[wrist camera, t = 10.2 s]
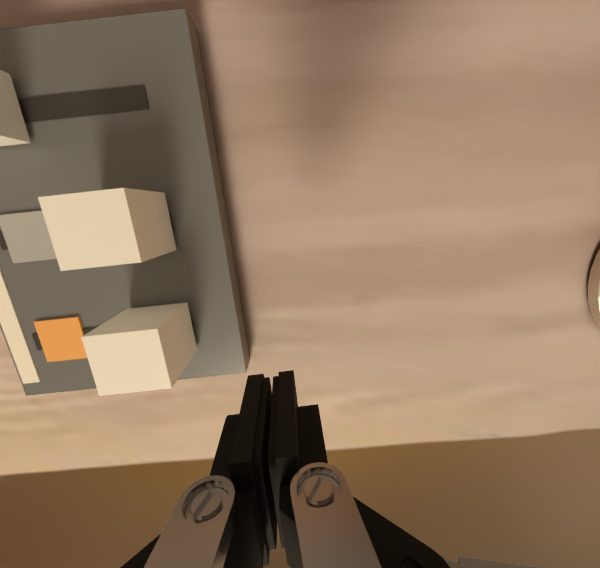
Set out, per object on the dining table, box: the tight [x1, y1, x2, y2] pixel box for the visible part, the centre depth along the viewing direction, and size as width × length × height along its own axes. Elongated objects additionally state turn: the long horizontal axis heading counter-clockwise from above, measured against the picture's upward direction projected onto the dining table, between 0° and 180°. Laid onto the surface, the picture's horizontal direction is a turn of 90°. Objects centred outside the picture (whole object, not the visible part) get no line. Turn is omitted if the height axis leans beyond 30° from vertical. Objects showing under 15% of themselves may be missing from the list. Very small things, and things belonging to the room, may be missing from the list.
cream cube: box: [81, 302, 197, 396], centre depth 18 cm, size 4×4×4 cm
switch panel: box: [0, 8, 250, 395], centre depth 20 cm, size 16×22×2 cm
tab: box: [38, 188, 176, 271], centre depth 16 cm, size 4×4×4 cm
